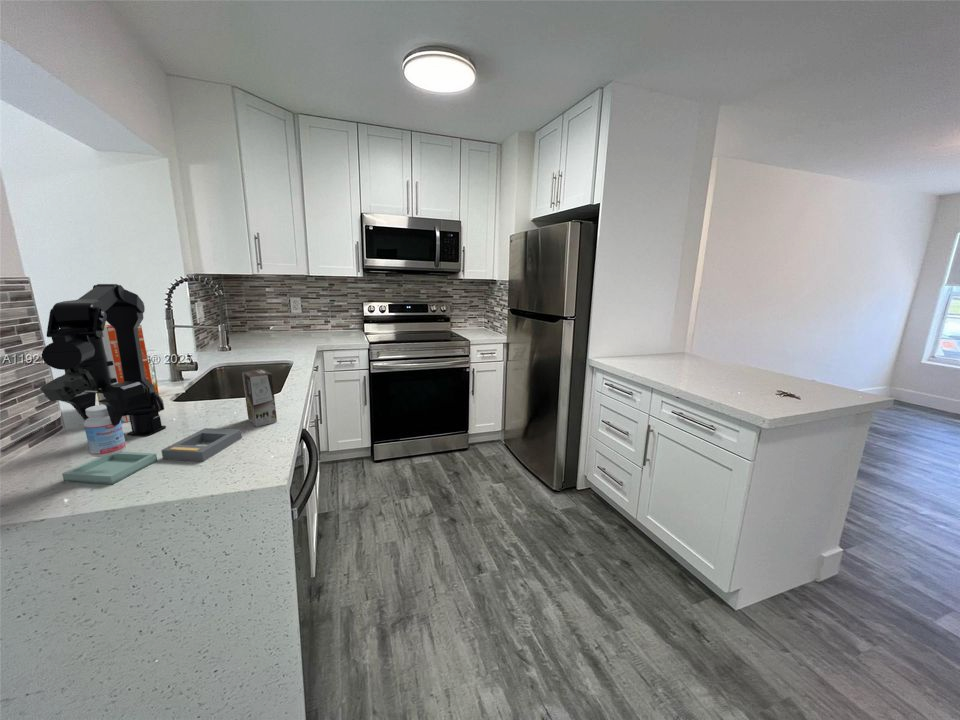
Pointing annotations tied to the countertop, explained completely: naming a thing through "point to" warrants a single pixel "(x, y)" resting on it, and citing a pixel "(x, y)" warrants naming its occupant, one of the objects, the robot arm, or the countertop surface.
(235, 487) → the countertop surface
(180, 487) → the countertop surface
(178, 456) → the socket block
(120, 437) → the pill bottle
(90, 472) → the tray
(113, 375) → the orange cereal box
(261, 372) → the coffee box
